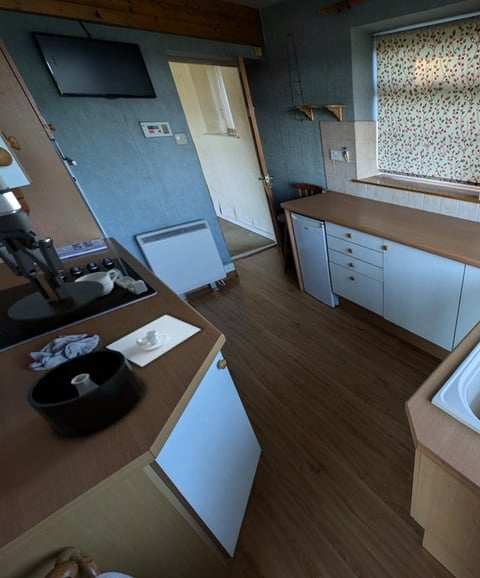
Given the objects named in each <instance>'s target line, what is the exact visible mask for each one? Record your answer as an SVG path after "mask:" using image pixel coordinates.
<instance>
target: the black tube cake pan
mask: <svg viewBox="0 0 480 578" xmlns="http://www.w3.org/2000/svg"><path fill="white" fill-rule="evenodd" d="M82 374H89V379H90V380H91V381H92V382H94V383H95V384H96V385H98V386H99V387H97V388H95V389H93V390H91V391H90V392H88V393H86V394H84V395H81V396H79V392H78V390H77V387H76V386H75V385H73V384H71V382H72V379H74V378H75V377H76V376H78V375H82ZM143 392H144V386H143V383H142V382H141V380H140V378H139V377H138V375H137V373H136V372H135V371H134V369H133V367H132V365H131V364H130V362H129V361H128V359H127V358H125V356H124V355H123V354H122V353H121V352H119V351H115V350H110V349H99V350H93V351H88V352H85V353H83V354H79V355H76V356H73V357H71V358H69V359H67V360H65V361H63V362H61V363H59V364H56V365H55V366H54V367H52V368H50V369H49V370H47V371H46V372H44V373H43V374H42V375H40V376H39V377H38V378H37V379H36V380H35V381H34V382H33V383H32V385H31V386H30V387H29V388H28V389H27V393H26V396H25V399H26V401H27V402H28V404H29V405H30V406H31V407H32V408H33V409H34V410H35V412H37V413H38V415H40V416H41V418H42V419H44V420H45V422H47V424H48V425H50V427H51V428H53V430H55V432H56V433H58V434H60V435H62V436H64V437H69V438H70V437H71V438H72V437H82V436H86V435H90V434H93V433H96V432H98V431H101V430H103V429H105V428H108V427H109V426H111V425H113V424H115V423H116V422H117V421H119V420H120V419H122V418H123V417H125V416H126V415H127V414H128V413H129V412H130V411H132V409H134V407H136V405H137V404H138V403H139V401H140V399H141V398H142V396H143Z"/></svg>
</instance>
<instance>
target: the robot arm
mask: <svg viewBox="0 0 480 578" xmlns="http://www.w3.org/2000/svg"><path fill="white" fill-rule="evenodd" d="M32 225H33V222H32V221H31V219H30V218H29V216H28V214H27V212H26V211H25V210H23V209H22V205H21V204H20V202H19V200H18V199H17V197H16V196H15V194H14V193H13V191H12V190H11V189H10V187H9V186H8V184H7V183H6V181H5V179H4V177H3V176H2V174H1V173H0V259H1V260H2V261H3V263H4V264H5V265H6V266H7V268H8V269H9V270H10V271H11V272H12V273H13V274H14V275H15V276H16V277H24V278H25V279H28V281H29V282H30V284H31V285H32V286H33V288H35V289H37V292H38V291H39V292H40V293H41V295H42V296H43V298H44V299H45V300H49V299H50V297H49V295H48V294H47V293H46V291H45V290H44V288H43V287H42V286H41V284H40V283H39V281H38V280H37V279H36V277H35V276H34V273H36V272H39V271H43V273H44V274H45V275H46V276H47V277H45V280H46V281H47V283H48V284H49V286H50V287H51V289H52V290H53V291H54V293H55V294H56V296H57V297H58V299H59V300H60V299H64V298H65V297H67V296H68V295H70V293H69V291H68V290H67V288H66V287H65V283H66V282H65V280H63V278H62V276H61V274H63V273H65V272H66V270H67V269H66V267H65V265H64V264H63V262H62V260H61V257H60V256H59V254H58V252H57V250H56V248H55V246H54V239H53V237H50V236H47V237H43V236H39V234H38V233H37V232H35V231H34V230H33V228H32ZM36 267H38V268H39V270H38V269H37V268H36Z"/></svg>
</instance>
